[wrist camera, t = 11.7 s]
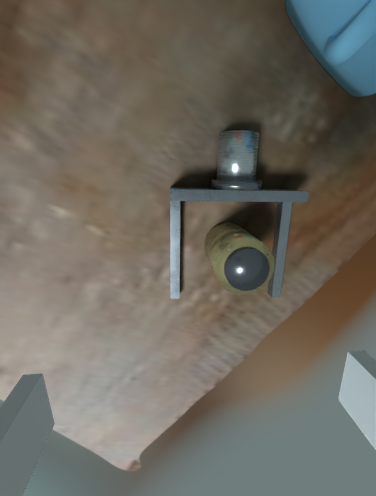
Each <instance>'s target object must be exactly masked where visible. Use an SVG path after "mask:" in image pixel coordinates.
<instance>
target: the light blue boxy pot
mask: <svg viewBox="0 0 376 496" xmlns="http://www.w3.org/2000/svg"><path fill="white" fill-rule="evenodd" d="M285 7H286V11H287V14H288V16H289V18H290V20H291V21H292V23H293V25H294V27H295V28H296V30H297V31H298V33H299V34H300V36H301V38H302V39H303V41H304V42H305V44H306V45H307V47H308V48H309V50H310V51H311V53H312V54H313V55H314V57H315V58H316V59H317V60H318V62H319V63H320V64H321V65H322V67H323V68H324V69H325V70H326V71H327V72H328V73H329V74H330V75H331V76H332V78H333V79H334V80H335V81H336V82H337V83H338V84H339V85H340V86H341V87H342V88H343V89H344V90H345V91H346V92H348V93H349V94H350V95H352V96H355V97H362V96H369V95H372V94H374V93H376V0H286V3H285Z"/></svg>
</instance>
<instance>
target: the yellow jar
mask: <svg viewBox="0 0 376 496" xmlns="http://www.w3.org/2000/svg"><path fill="white" fill-rule="evenodd" d="M205 251H206V254H207V256H208V258H209V261H210V263H211V265H212V267H213V269H214V272H215V274H216V276H217V278H218V280H219V282H220V284H221V285H222V286H223V287H224V288H225V289H226V290H228V291H230V292H232V293H235V294H240V295H245V294H251V293H254V292H256V291H258V290H260V289H261V288H263V287H264V286H265V285H266V284H267V283H268V282H269V280H270V279H271V277H272V275H273V271H274V257H273V254H272V252H271V251H270V249H269V248H268V247H267V246H266V245H265V244H264V243H262V242H261V241H259V240H258V239H257V238H255V237H254V236H253V235H251V234H250V233H248V232H247V231H246V230H244V229H243V228H242V227H240V226H239V225H237V224H234V223H221V224H219V225H216V226H215V227H213V228H212V229H211V230H210V231H209V233H208V234H207V236H206V239H205Z"/></svg>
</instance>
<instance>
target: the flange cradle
mask: <svg viewBox="0 0 376 496" xmlns="http://www.w3.org/2000/svg"><path fill="white" fill-rule="evenodd" d="M258 143H259V132H256V131H248V130H233V131H224V132H220V133H219V144H218V165H217V180H211V188H187V187H170V233H171V299H179V298H180V201H241V202H278V206H277V215H276V224H275V233H274V242H273V251H272V254H273V257H274V271H273V275H272V277H271V279H270V280H269V286H268V293H269V295H270V296H271V297H280V295H281V287H282V279H283V271H284V263H285V256H286V248H287V240H288V232H289V224H290V217H291V209H292V202H307V200H308V193H309V191H302V190H293V189H262V184H263V181H255V177H256V166H257V154H258Z"/></svg>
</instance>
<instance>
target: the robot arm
mask: <svg viewBox="0 0 376 496" xmlns="http://www.w3.org/2000/svg"><path fill="white" fill-rule="evenodd" d="M339 401H340V403H341V404H342V405H343V407H344V408H345V409H346V411H347V412H348V413H349V415H350V416H351V417H352V419H353V420H354V421H355V423H356V424H357V425H358V427H359V428H360V430H361V431H362V432H363V434H364V435H365V436H366V438H367V439H368V440H369V442H370V443H371V444H372V446H373V447H374V448H375V450H376V361H375V360H374V359H373V358H372V357H371V356H370V355H369V354H368V353H367V352H366V351H364V350H361V351H349V352H348V354H347V359H346V364H345V369H344V374H343V379H342V383H341V388H340V393H339ZM53 426H54V419H53V415H52V411H51V407H50V403H49V398H48V394H47V390H46V386H45V382H44V377H43V374H30V375H23V376H22V377H21V379H20V380H19V382H18V383H17V384H16V386H15V387H14V389H13V390H12V392H11V393H10V394H9V396H8V397H7V399H6V400H5V402H4V403H3V404H2V406H1V407H0V496H23V493H24V491H25V489H26V486H27V484H28V482H29V480H30V478H31V475H32V473H33V471H34V468H35V466H36V464H37V462H38V460H39V458H40V455H41V453H42V451H43V448H44V446H45V444H46V442H47V440H48V437H49V435H50V433H51V431H52V428H53Z"/></svg>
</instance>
